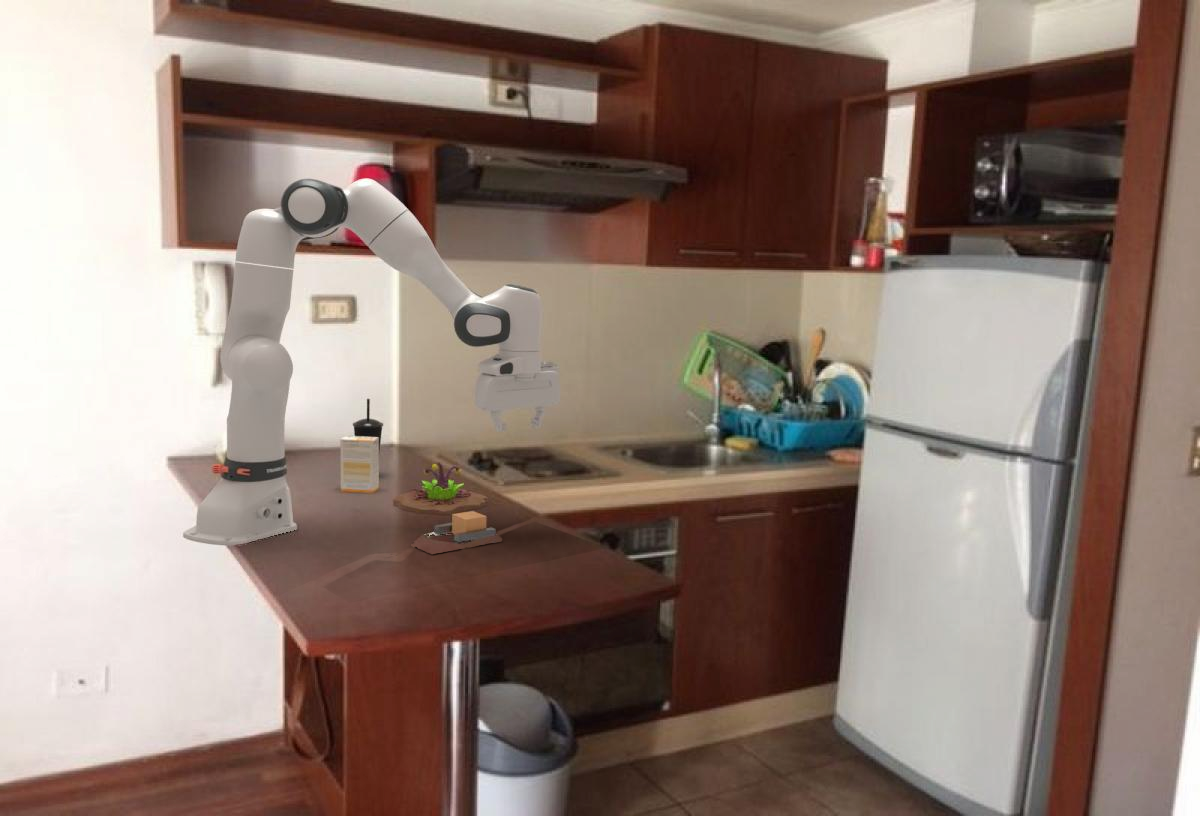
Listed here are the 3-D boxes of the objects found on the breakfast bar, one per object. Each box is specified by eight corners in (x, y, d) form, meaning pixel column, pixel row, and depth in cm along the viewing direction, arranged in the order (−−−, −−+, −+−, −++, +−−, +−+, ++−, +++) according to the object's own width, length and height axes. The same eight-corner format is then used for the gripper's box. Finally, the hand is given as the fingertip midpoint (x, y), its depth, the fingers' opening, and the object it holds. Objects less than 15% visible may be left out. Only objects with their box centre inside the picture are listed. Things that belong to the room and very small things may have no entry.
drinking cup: (388, 475, 259) (389, 399, 256) (367, 480, 253) (368, 402, 250) (367, 471, 263) (368, 395, 260) (345, 475, 257) (346, 398, 254)
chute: (471, 529, 212) (472, 517, 212) (502, 541, 204) (502, 529, 204) (402, 541, 201) (402, 529, 201) (431, 555, 193) (432, 542, 193)
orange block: (472, 529, 209) (472, 510, 208) (485, 535, 205) (486, 516, 204) (451, 533, 205) (452, 514, 205) (465, 538, 202) (466, 519, 201)
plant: (377, 510, 226) (378, 462, 224) (430, 494, 243) (430, 449, 241) (450, 524, 217) (451, 474, 215) (499, 506, 234) (500, 459, 232)
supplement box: (379, 489, 244) (380, 436, 242) (373, 494, 239) (373, 440, 237) (346, 487, 245) (346, 434, 243) (339, 491, 240) (339, 438, 238)
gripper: (549, 359, 217) (547, 422, 220) (471, 364, 204) (470, 431, 206) (567, 362, 213) (565, 426, 215) (489, 367, 199) (488, 435, 201)
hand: (518, 429), depth 210 cm, fingers open, 8 cm apart
